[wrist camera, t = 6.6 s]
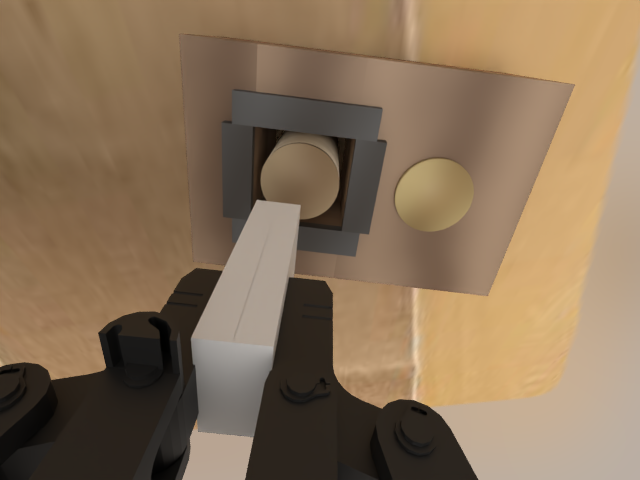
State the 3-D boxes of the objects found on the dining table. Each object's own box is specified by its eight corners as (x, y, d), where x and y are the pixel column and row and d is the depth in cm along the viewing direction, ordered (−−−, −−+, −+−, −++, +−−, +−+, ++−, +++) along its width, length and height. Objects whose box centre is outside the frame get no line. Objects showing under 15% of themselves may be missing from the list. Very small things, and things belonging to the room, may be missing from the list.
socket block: (228, 209, 29) (189, 266, 21) (226, 37, 23) (173, 33, 16) (451, 235, 29) (491, 302, 22) (503, 73, 24) (582, 86, 16)
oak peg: (279, 169, 26) (259, 214, 19) (283, 112, 25) (262, 138, 17) (334, 176, 26) (333, 223, 19) (342, 119, 25) (344, 149, 18)
